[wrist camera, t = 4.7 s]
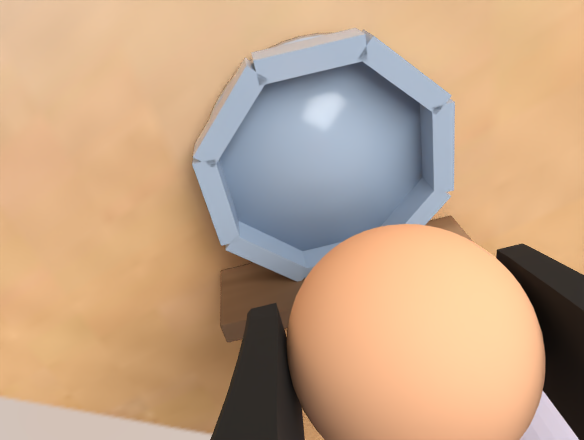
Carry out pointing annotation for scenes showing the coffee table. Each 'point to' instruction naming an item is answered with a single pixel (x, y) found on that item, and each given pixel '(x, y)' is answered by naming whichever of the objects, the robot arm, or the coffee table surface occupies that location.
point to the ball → (415, 340)
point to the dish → (323, 149)
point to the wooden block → (272, 289)
